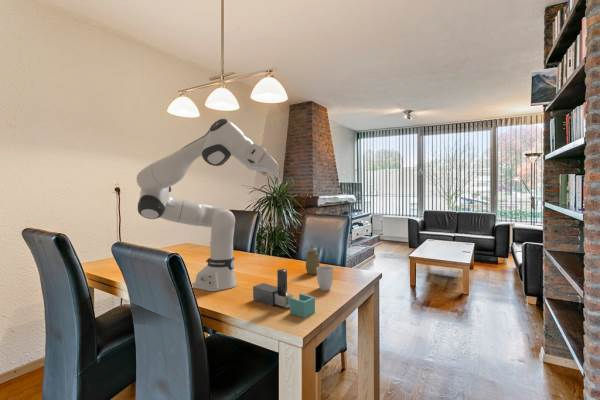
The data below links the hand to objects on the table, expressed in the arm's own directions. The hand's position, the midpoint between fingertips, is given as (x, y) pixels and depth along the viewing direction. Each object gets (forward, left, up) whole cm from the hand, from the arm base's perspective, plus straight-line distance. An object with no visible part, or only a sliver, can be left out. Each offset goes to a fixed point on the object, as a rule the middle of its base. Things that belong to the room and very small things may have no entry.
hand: (271, 175), depth 123 cm
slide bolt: (0, +2, -53) cm, 53 cm away
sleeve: (-4, +4, -54) cm, 54 cm away
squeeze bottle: (+7, +48, -54) cm, 73 cm away
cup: (+18, +25, -54) cm, 62 cm away
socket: (+14, -4, -54) cm, 56 cm away
